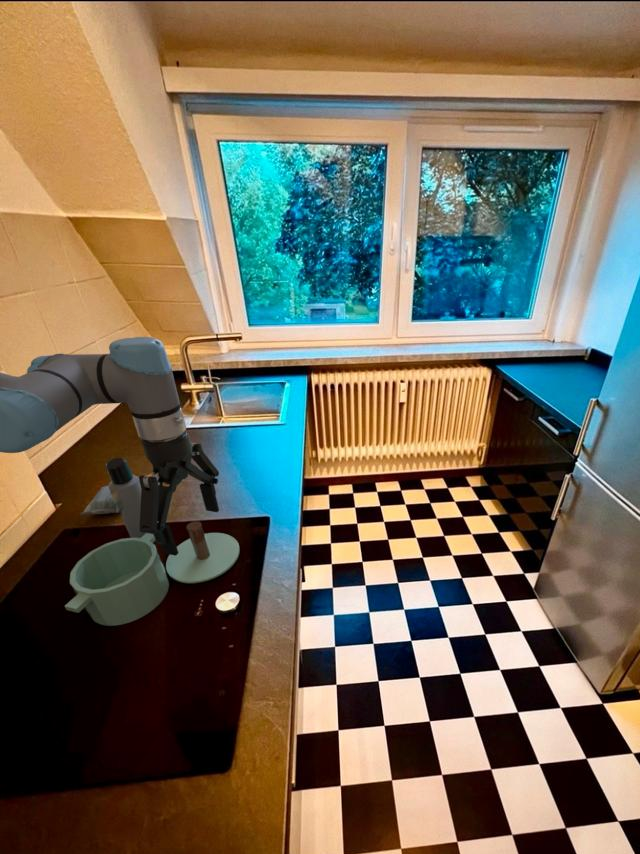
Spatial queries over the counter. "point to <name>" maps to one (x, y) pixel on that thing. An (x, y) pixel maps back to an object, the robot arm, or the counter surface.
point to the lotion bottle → (126, 494)
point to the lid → (202, 556)
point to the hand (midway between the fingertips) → (193, 530)
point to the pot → (119, 581)
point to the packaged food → (102, 503)
